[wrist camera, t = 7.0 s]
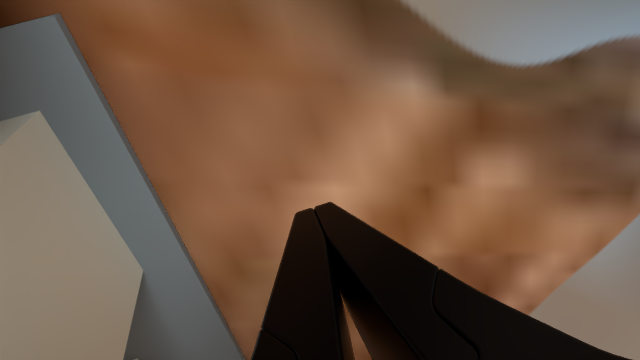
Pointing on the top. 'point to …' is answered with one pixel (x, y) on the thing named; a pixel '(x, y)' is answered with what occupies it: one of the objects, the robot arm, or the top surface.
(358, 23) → the top surface
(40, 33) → the slate mat
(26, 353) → the tile
